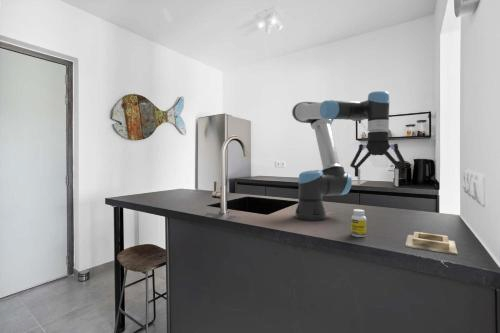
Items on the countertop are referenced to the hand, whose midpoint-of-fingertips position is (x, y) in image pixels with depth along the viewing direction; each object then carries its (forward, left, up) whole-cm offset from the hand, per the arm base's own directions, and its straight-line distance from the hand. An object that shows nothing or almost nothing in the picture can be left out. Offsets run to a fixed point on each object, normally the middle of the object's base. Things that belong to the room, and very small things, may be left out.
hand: (377, 185), depth 106 cm
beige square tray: (+18, -6, -19) cm, 27 cm away
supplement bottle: (-5, -8, -19) cm, 21 cm away
